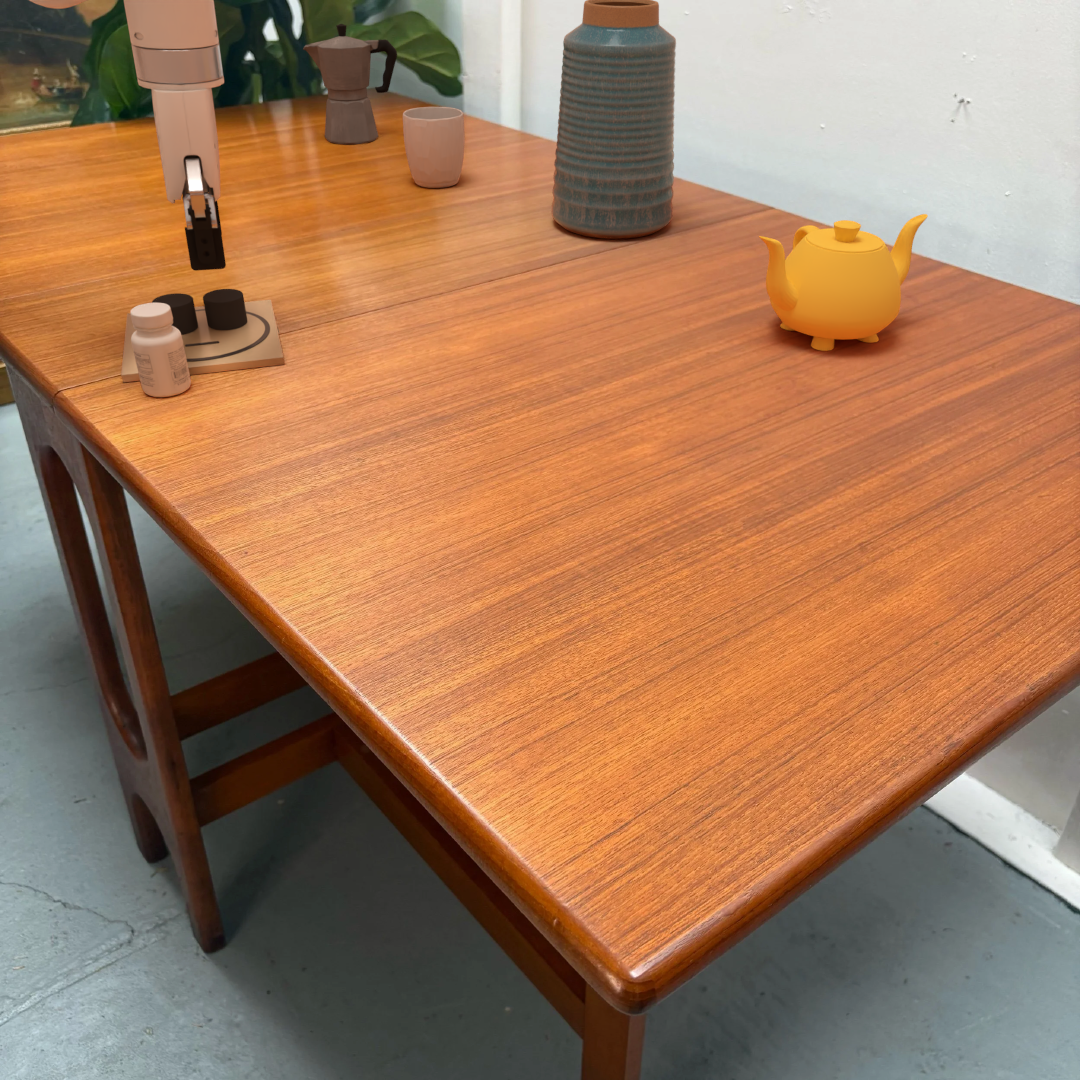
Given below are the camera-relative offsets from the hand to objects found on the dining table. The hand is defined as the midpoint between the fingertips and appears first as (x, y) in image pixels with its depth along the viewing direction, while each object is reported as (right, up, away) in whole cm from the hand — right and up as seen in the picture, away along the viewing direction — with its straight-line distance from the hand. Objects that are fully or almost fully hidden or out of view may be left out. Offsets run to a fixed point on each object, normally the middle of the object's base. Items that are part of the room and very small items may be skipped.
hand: (207, 252), depth 102 cm
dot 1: (-4, -7, +3) cm, 9 cm away
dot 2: (+1, -6, +4) cm, 8 cm away
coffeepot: (+1, +41, +76) cm, 87 cm away
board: (-1, -8, +3) cm, 9 cm away
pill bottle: (-2, -15, -6) cm, 16 cm away
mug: (+17, +26, +54) cm, 63 cm away
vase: (+43, +14, +37) cm, 58 cm away
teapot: (+63, -7, +6) cm, 64 cm away
